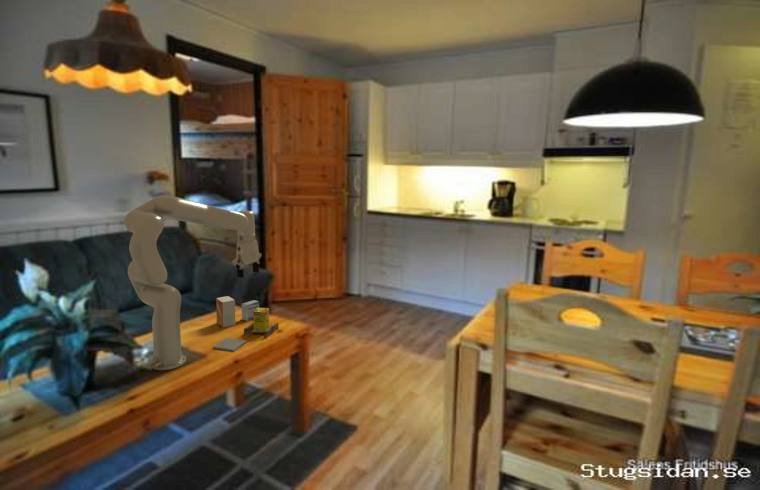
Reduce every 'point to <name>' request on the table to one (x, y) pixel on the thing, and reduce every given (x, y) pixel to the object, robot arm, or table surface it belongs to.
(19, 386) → the table surface
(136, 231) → the robot arm
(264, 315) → the supplement box
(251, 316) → the medicine box
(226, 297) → the small box
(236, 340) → the grey tile
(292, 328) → the table surface
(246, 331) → the divider rack
